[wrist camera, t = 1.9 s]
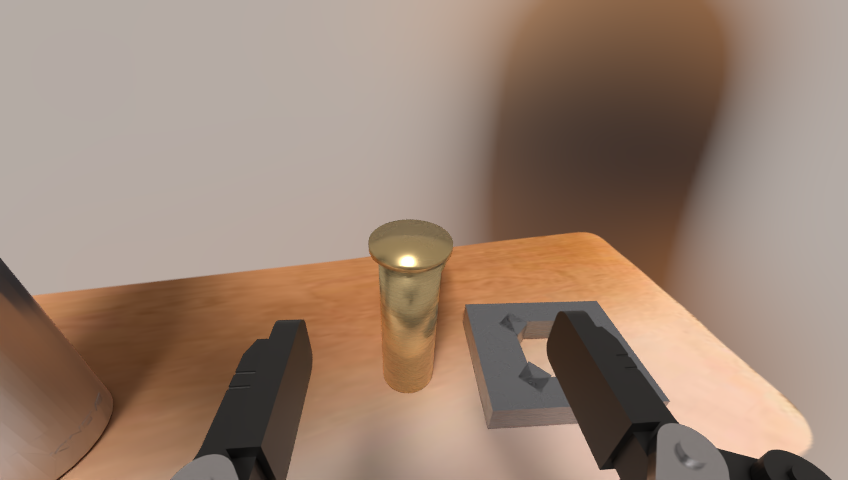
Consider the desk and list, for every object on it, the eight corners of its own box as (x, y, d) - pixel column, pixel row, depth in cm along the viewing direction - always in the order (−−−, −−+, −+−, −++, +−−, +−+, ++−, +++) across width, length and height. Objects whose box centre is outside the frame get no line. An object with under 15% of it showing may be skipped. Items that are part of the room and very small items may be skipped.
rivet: (375, 401, 27) (365, 267, 19) (377, 345, 32) (370, 219, 24) (442, 398, 28) (459, 265, 20) (435, 343, 32) (446, 219, 25)
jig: (487, 428, 26) (492, 411, 24) (462, 321, 35) (465, 304, 33) (655, 418, 27) (669, 401, 26) (589, 317, 36) (596, 301, 35)
